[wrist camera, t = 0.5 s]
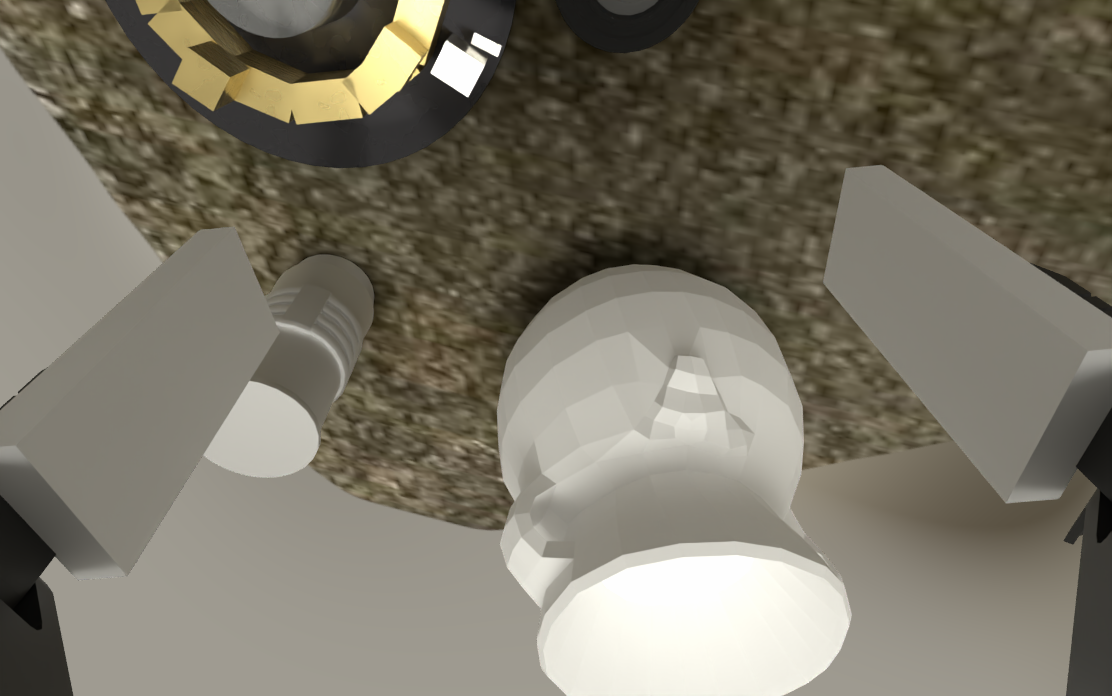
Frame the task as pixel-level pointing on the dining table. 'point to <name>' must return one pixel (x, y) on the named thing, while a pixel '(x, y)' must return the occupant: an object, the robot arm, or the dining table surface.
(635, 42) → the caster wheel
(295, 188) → the dining table surface
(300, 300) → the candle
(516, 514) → the pitcher
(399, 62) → the ring nut
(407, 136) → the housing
